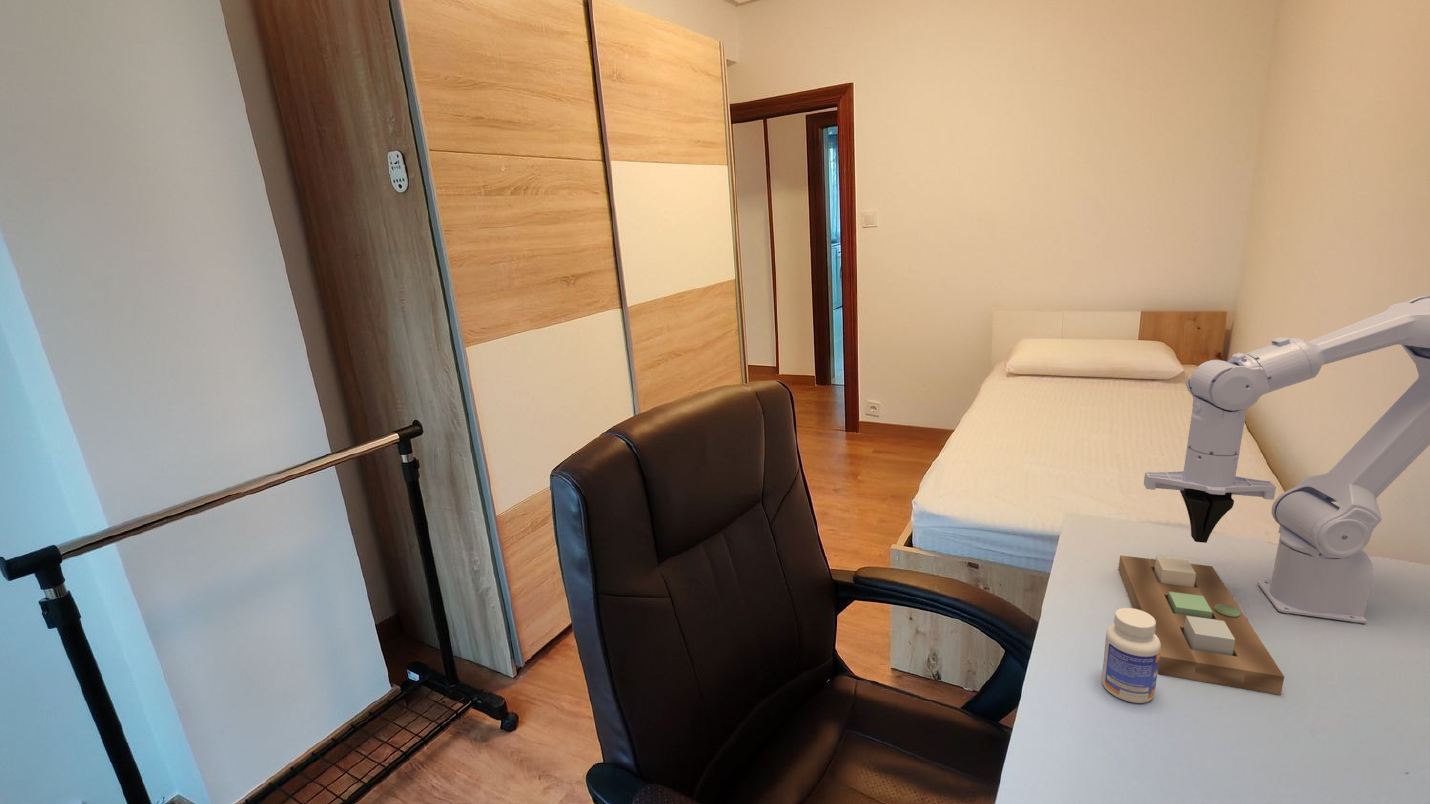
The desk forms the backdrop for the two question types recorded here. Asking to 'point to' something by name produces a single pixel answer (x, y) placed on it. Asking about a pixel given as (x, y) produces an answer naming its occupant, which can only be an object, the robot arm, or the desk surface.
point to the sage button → (1189, 605)
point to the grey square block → (1208, 635)
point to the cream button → (1174, 571)
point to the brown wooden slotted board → (1176, 658)
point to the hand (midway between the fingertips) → (1198, 539)
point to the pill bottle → (1131, 656)
